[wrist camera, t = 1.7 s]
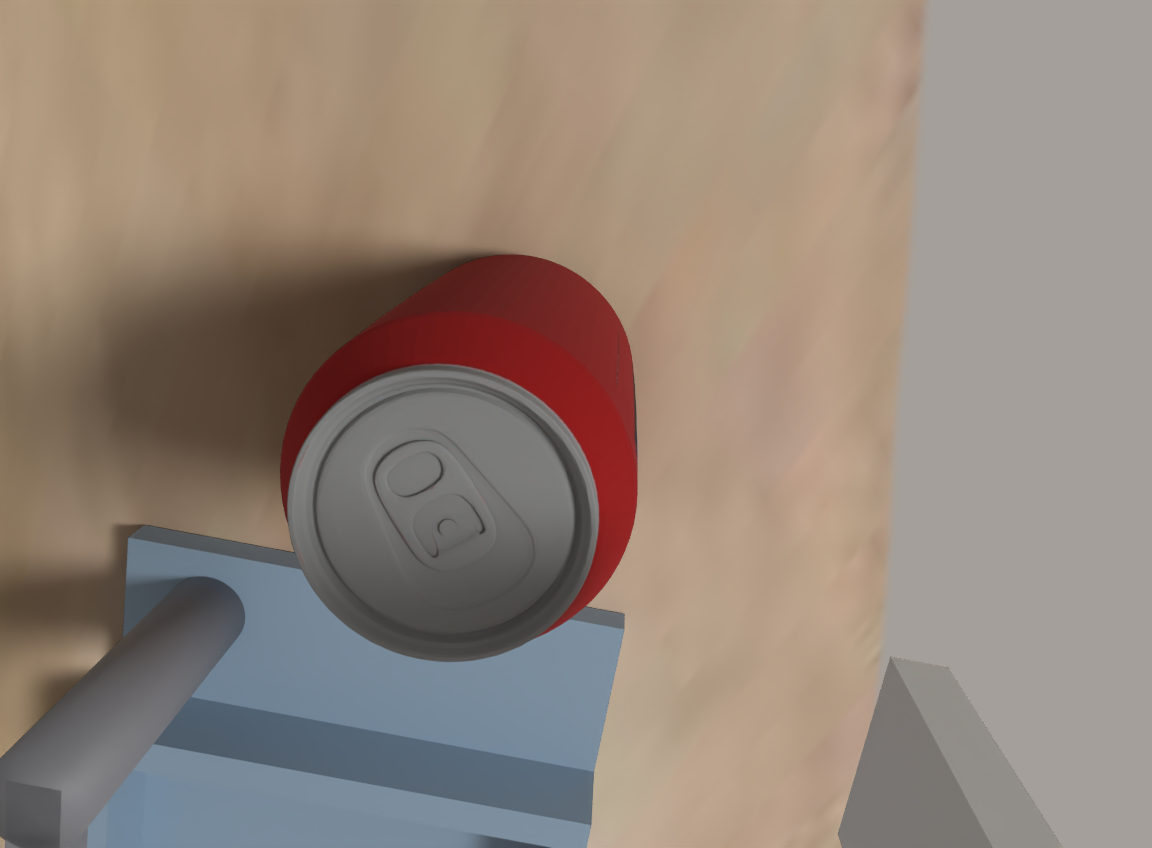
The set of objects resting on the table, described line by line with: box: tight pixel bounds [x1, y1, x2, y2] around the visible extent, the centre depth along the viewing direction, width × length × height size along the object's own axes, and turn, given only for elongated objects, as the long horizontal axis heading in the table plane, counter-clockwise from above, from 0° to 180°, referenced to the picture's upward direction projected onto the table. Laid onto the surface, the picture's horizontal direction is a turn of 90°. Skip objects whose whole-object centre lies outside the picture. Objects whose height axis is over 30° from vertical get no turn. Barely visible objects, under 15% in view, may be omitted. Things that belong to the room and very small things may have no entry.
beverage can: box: [280, 255, 637, 662], centre depth 22 cm, size 7×7×12 cm
